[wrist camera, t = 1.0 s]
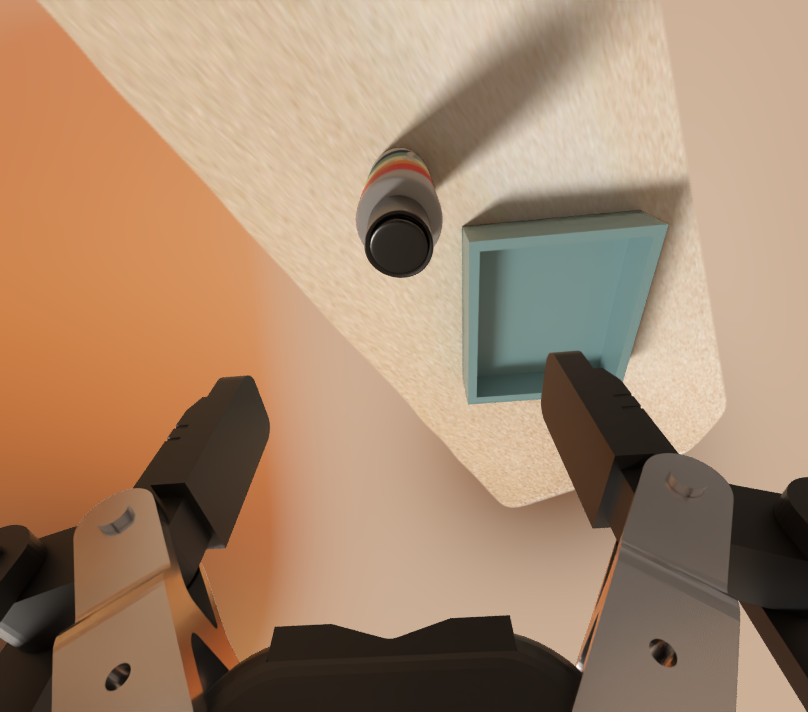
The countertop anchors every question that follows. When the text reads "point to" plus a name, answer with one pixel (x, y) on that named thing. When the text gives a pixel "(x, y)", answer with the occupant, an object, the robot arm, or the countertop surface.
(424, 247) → the lotion bottle
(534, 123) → the countertop surface
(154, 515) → the robot arm
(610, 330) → the tray
